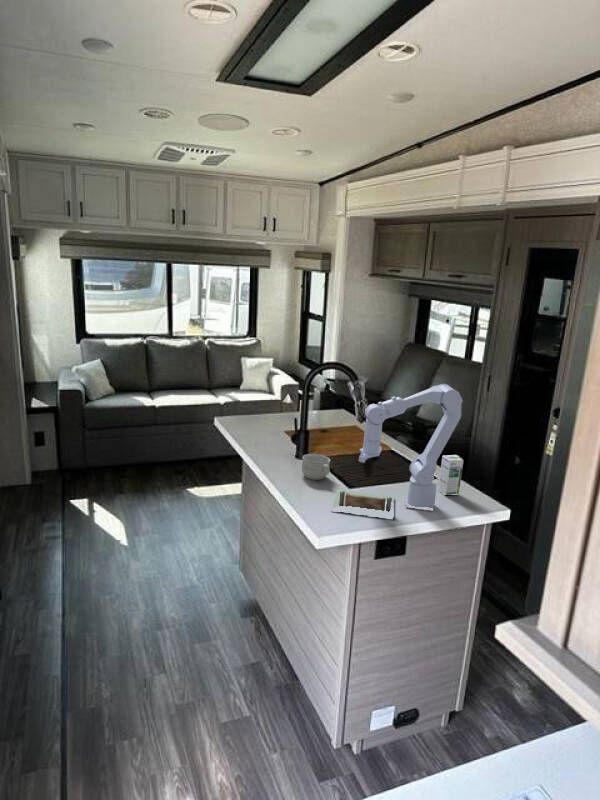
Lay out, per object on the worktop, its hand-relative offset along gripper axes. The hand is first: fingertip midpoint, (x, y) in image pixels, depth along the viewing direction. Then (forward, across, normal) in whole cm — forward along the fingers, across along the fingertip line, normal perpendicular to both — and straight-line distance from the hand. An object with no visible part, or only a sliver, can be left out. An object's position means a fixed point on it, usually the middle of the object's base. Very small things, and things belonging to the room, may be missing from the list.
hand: (368, 476), depth 193 cm
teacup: (+10, -8, -25) cm, 28 cm away
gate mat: (+10, +2, 0) cm, 10 cm away
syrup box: (+11, -29, +21) cm, 37 cm away
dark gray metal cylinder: (+10, +5, +2) cm, 12 cm away
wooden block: (+9, +5, +2) cm, 11 cm away
